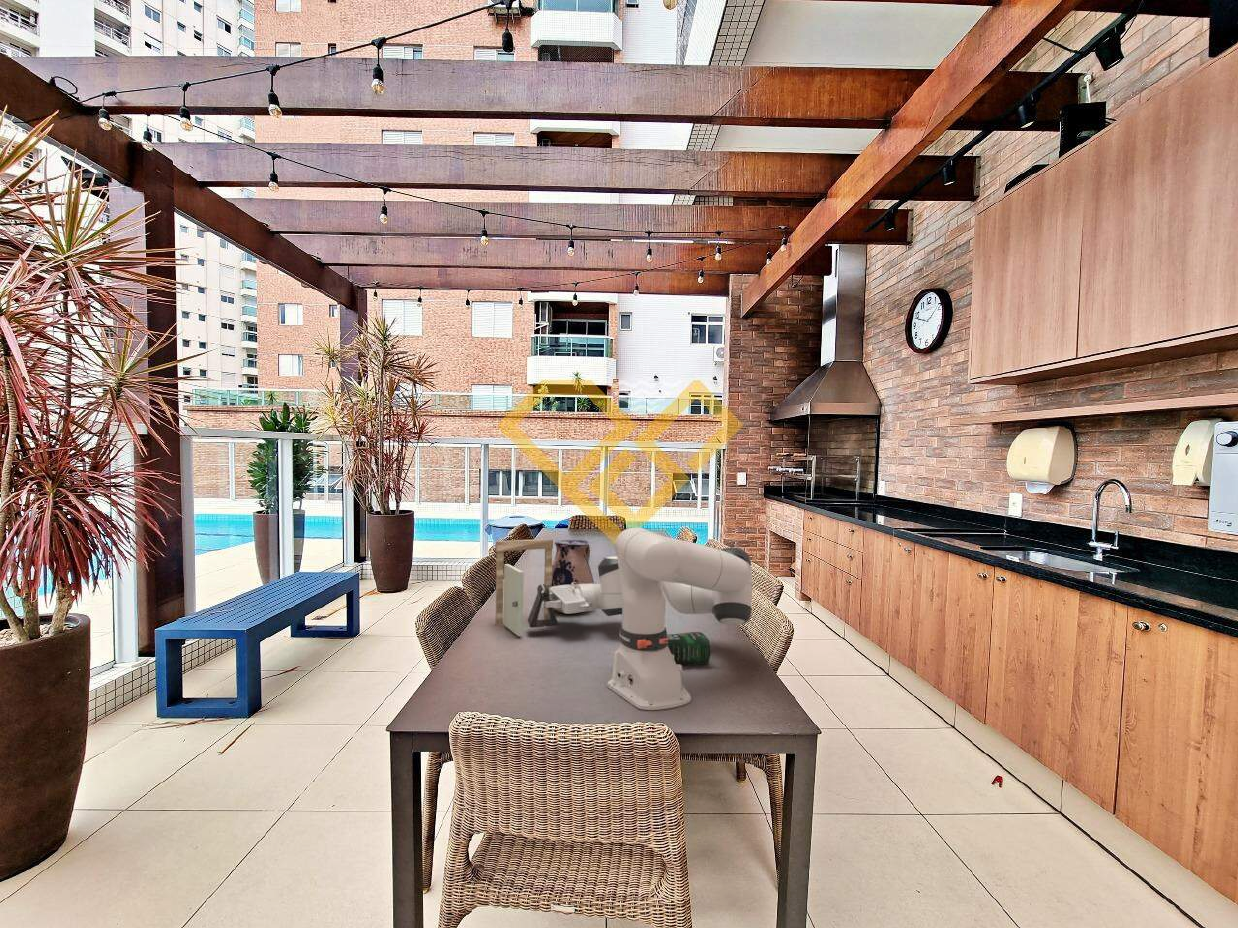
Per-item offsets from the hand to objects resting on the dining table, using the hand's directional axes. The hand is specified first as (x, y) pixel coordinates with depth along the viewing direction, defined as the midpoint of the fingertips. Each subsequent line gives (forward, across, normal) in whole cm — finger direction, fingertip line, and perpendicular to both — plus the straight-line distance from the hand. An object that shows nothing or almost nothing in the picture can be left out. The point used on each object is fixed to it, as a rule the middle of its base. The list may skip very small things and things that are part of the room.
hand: (541, 601), depth 178 cm
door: (+9, +4, -10) cm, 14 cm away
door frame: (+3, +13, -10) cm, 17 cm away
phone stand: (0, 0, -8) cm, 8 cm away
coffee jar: (-39, -37, -6) cm, 54 cm away
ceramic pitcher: (-17, +23, -11) cm, 30 cm away
